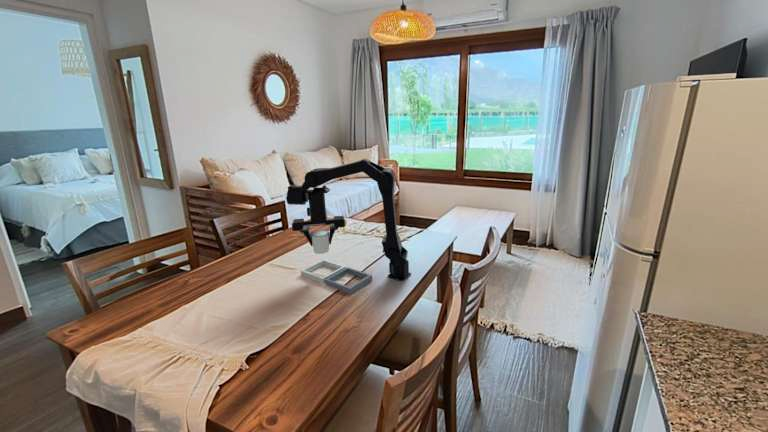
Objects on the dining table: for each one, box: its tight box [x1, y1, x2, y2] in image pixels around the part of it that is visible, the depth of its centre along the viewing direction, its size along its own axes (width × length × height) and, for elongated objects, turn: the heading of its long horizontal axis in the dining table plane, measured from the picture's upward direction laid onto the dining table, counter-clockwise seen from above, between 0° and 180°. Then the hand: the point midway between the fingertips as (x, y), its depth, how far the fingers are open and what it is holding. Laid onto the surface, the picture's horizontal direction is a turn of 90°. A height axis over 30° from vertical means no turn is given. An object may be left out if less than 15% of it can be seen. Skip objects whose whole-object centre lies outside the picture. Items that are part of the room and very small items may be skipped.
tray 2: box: [324, 266, 373, 295], centre depth 125 cm, size 12×12×2 cm
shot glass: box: [310, 230, 330, 255], centre depth 129 cm, size 7×7×7 cm
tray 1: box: [300, 258, 347, 285], centre depth 132 cm, size 12×12×2 cm
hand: (321, 244), depth 129 cm, fingers closed on shot glass, 6 cm apart
